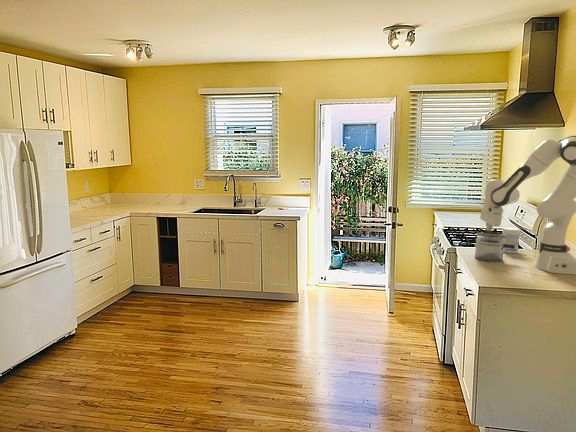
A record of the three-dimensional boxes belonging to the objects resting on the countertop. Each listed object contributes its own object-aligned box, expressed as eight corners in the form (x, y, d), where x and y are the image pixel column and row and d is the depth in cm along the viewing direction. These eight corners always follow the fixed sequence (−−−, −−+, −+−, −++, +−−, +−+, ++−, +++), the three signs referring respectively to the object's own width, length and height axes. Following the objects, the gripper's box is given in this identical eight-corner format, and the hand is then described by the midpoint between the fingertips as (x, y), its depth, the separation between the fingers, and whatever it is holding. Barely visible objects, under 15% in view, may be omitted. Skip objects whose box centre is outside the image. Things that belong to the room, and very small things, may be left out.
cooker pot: (512, 258, 273) (514, 240, 271) (513, 265, 259) (515, 246, 257) (475, 253, 282) (476, 236, 280) (473, 260, 268) (475, 241, 266)
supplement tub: (520, 252, 287) (523, 229, 284) (510, 254, 283) (512, 230, 280) (507, 249, 296) (509, 226, 293) (497, 250, 291) (499, 227, 289)
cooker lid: (505, 239, 274) (506, 233, 274) (506, 237, 259) (506, 232, 259) (476, 235, 280) (476, 231, 280) (475, 234, 265) (476, 229, 265)
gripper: (478, 203, 278) (476, 226, 281) (493, 210, 258) (490, 234, 260) (489, 204, 278) (486, 226, 280) (504, 210, 258) (501, 234, 260)
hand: (488, 230), depth 270 cm, fingers closed
